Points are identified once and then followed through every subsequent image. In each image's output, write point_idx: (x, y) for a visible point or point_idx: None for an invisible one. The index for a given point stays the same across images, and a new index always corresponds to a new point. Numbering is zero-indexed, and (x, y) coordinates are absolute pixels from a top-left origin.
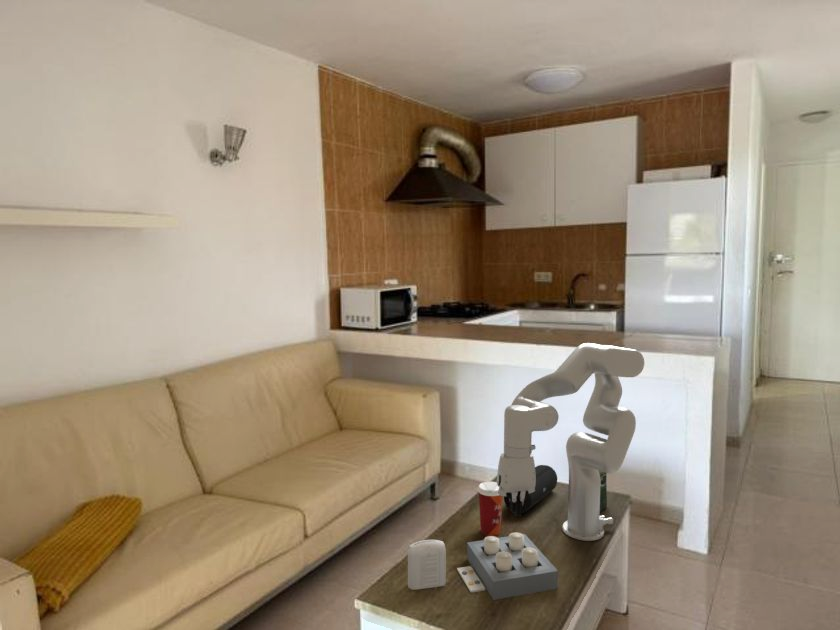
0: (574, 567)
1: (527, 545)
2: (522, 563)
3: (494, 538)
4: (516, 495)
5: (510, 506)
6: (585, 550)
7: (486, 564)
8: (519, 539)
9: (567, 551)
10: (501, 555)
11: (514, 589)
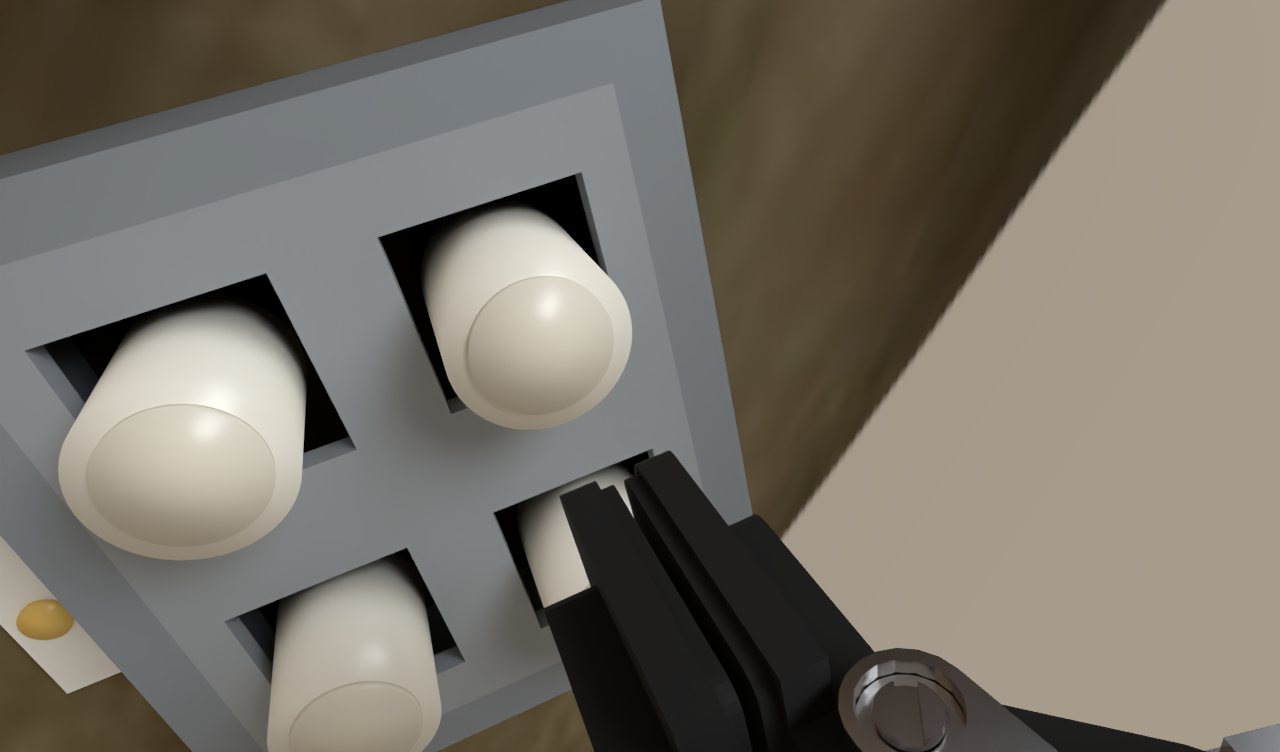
0: (895, 277)
1: (634, 276)
2: (529, 565)
3: (227, 456)
4: (859, 749)
5: (567, 671)
6: (1072, 29)
7: (169, 656)
8: (565, 417)
9: (946, 41)
10: (330, 749)
11: None
